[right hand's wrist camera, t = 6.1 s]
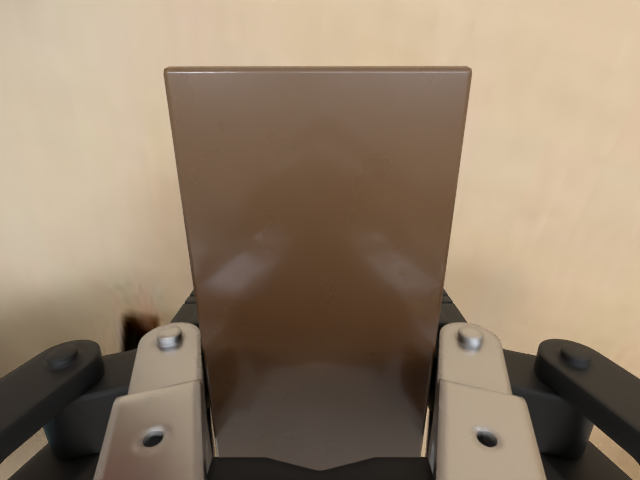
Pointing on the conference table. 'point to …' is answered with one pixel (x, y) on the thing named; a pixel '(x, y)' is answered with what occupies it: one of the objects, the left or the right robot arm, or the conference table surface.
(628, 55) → the conference table surface
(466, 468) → the right robot arm
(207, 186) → the post
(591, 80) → the conference table surface
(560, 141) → the conference table surface
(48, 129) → the conference table surface
